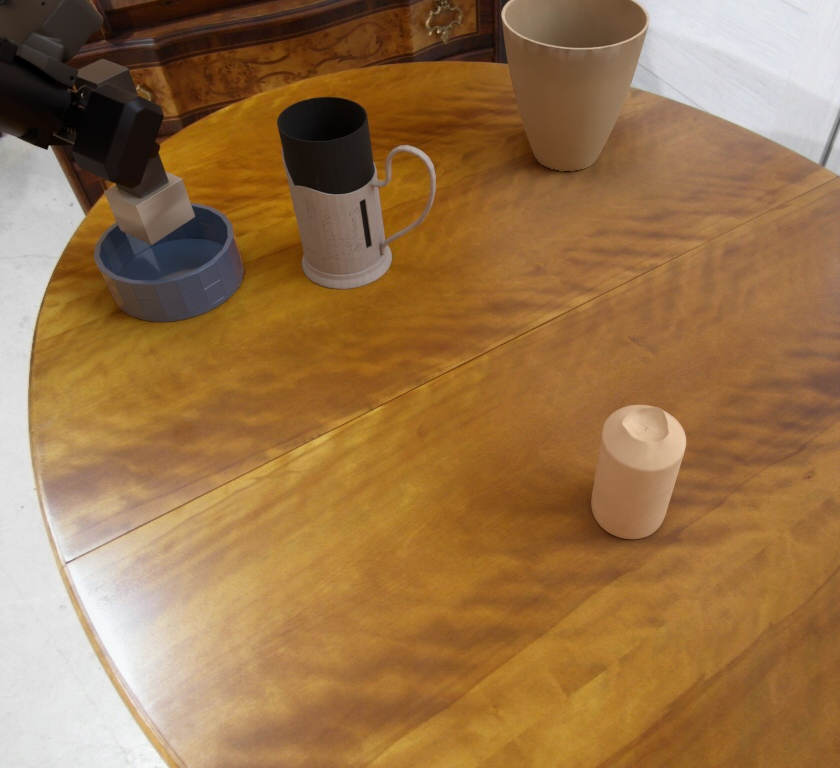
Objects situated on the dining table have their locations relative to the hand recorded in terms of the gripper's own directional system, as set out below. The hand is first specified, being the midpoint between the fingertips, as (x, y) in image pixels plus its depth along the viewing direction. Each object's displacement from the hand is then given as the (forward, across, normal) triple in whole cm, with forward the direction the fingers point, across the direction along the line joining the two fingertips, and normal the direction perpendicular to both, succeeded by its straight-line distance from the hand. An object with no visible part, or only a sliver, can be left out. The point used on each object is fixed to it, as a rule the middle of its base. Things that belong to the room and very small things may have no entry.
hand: (143, 145), depth 64 cm
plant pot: (+36, -20, -17) cm, 45 cm away
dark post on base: (+4, 0, +6) cm, 7 cm away
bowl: (+9, 0, +10) cm, 13 cm away
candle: (+8, -48, +11) cm, 49 cm away
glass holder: (+17, -14, +2) cm, 22 cm away
